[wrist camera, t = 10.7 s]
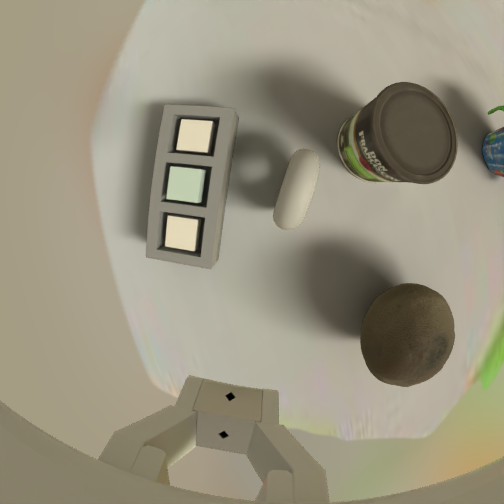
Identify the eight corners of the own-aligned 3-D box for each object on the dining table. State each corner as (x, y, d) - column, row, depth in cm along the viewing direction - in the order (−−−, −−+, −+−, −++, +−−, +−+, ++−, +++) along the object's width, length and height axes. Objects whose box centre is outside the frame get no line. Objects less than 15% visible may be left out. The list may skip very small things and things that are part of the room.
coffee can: (369, 197, 37) (416, 205, 23) (321, 140, 35) (349, 116, 22) (415, 155, 34) (472, 147, 21) (371, 99, 33) (414, 65, 19)
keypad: (176, 113, 36) (164, 104, 31) (238, 117, 35) (234, 108, 30) (159, 248, 40) (145, 257, 35) (218, 259, 40) (211, 269, 35)
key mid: (175, 167, 34) (170, 166, 32) (205, 170, 34) (202, 169, 32) (171, 198, 35) (166, 198, 33) (201, 201, 35) (197, 202, 33)
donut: (291, 150, 36) (298, 137, 26) (315, 158, 36) (331, 149, 26) (269, 219, 38) (268, 231, 29) (293, 227, 38) (300, 241, 29)
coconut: (438, 293, 39) (489, 333, 24) (390, 359, 42) (422, 416, 28) (380, 252, 38) (431, 286, 24) (328, 328, 41) (350, 391, 27)
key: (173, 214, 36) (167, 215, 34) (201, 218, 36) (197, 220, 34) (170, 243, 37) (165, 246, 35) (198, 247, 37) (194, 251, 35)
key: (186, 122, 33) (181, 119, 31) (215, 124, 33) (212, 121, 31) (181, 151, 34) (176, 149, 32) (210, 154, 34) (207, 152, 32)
